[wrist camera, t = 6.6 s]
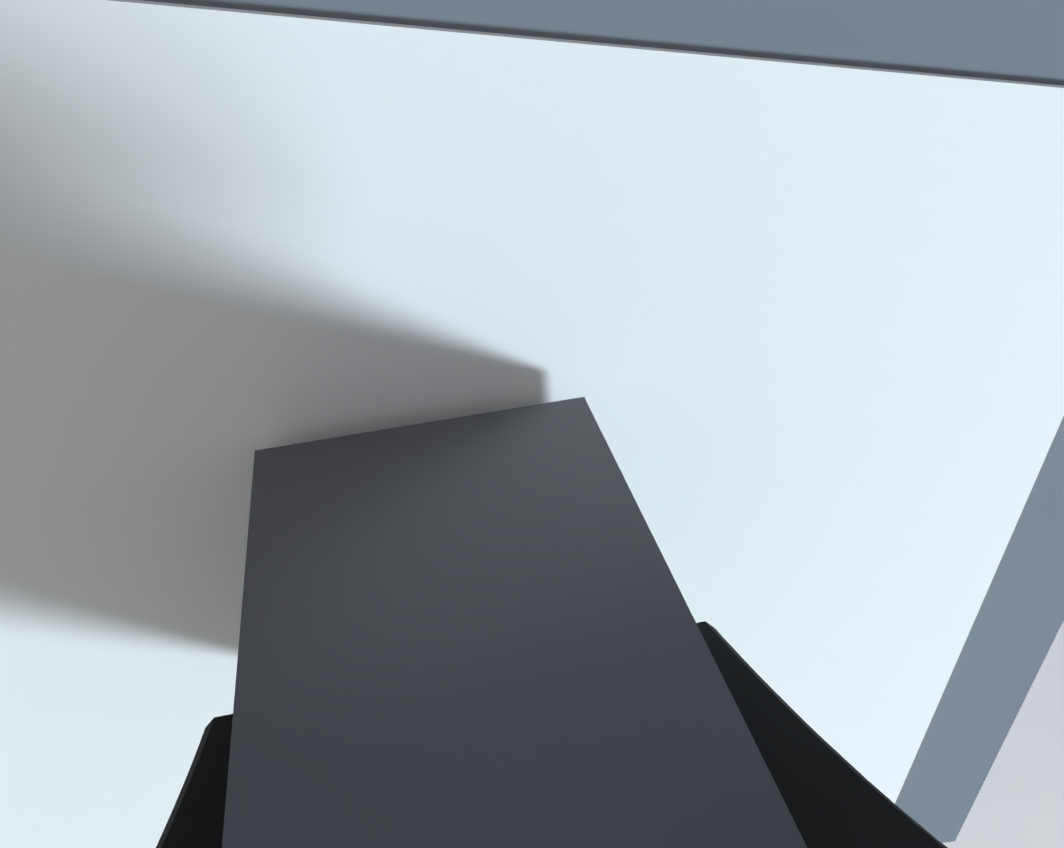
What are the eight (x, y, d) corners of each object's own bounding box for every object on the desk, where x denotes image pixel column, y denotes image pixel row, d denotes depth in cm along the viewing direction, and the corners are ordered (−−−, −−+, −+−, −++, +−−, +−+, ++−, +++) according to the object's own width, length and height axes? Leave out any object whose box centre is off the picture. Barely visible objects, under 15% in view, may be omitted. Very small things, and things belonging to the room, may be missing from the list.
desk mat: (1354, -20, 12) (1392, -14, 12) (946, 828, 20) (960, 849, 20) (-945, -318, 7) (-1021, -328, 7) (-307, 956, 15) (-324, 987, 15)
